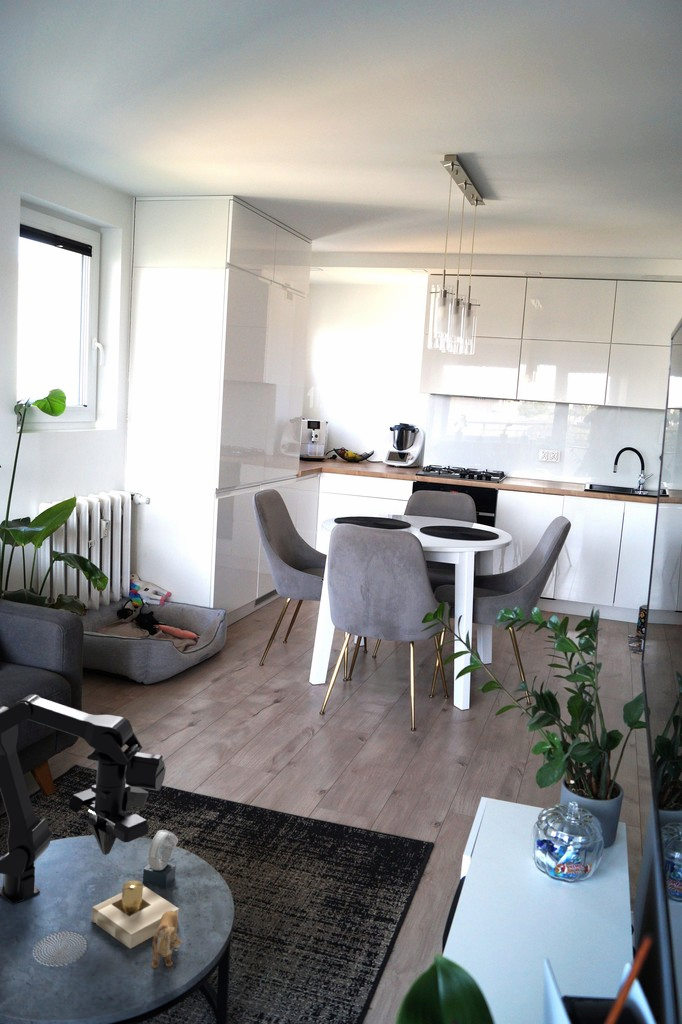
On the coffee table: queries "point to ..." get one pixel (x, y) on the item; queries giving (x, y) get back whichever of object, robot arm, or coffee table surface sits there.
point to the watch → (160, 860)
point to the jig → (132, 918)
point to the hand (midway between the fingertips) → (105, 853)
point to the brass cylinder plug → (131, 897)
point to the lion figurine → (165, 938)
